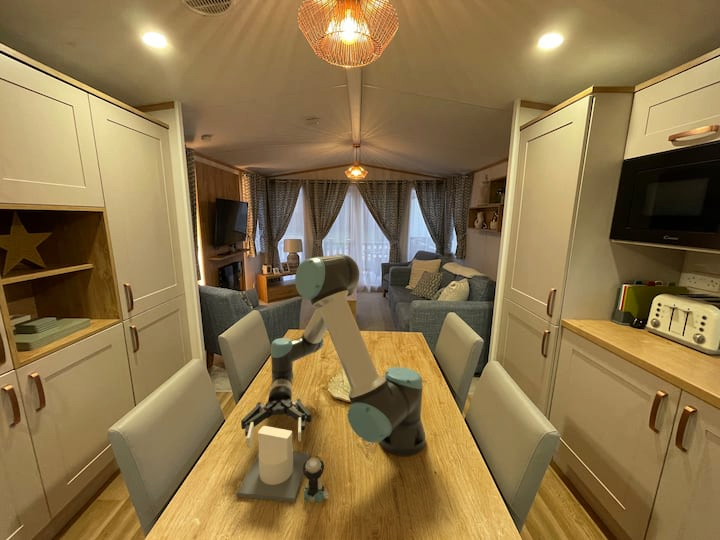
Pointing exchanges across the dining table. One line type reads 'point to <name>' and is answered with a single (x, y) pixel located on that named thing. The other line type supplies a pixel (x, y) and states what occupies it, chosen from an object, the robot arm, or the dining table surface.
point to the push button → (314, 480)
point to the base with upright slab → (275, 455)
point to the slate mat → (278, 492)
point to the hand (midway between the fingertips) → (274, 439)
